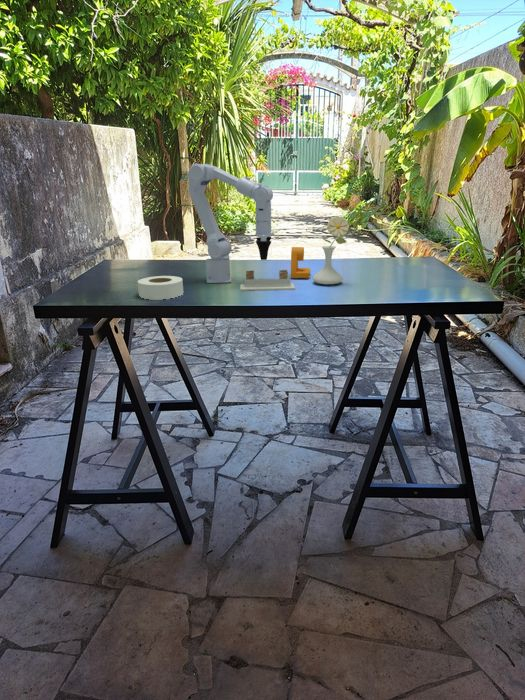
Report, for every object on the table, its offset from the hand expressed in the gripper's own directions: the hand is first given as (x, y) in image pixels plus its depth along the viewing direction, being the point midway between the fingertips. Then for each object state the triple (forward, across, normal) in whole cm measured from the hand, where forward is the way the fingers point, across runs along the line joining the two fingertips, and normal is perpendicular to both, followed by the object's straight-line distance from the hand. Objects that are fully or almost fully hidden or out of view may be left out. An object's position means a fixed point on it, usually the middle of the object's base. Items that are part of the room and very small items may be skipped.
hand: (263, 258), depth 181 cm
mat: (+10, -7, -1) cm, 12 cm away
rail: (+9, -7, -1) cm, 12 cm away
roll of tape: (+10, -15, +37) cm, 41 cm away
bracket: (+10, +11, -15) cm, 21 cm away
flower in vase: (+10, -2, -25) cm, 27 cm away
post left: (+10, +2, +5) cm, 11 cm away
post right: (+10, +2, -8) cm, 13 cm away
